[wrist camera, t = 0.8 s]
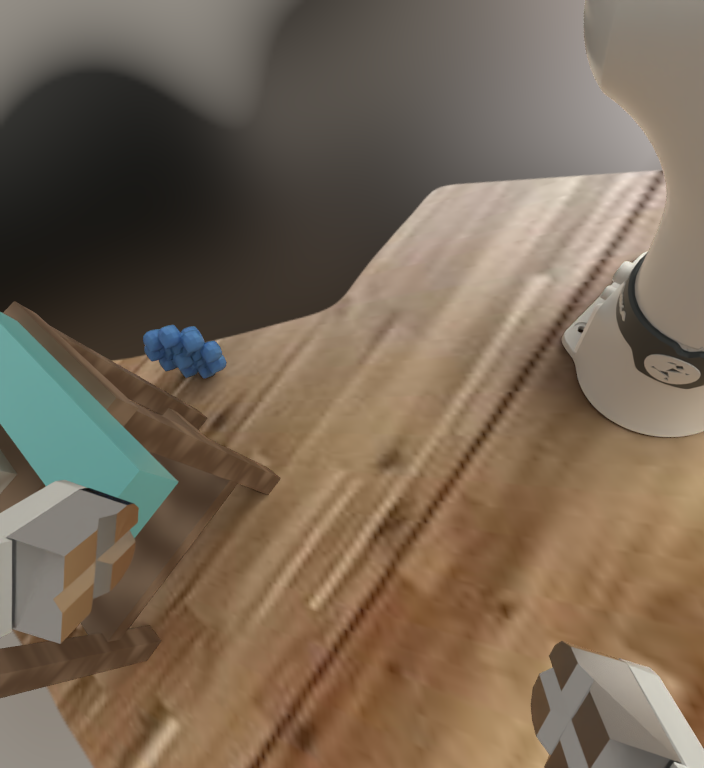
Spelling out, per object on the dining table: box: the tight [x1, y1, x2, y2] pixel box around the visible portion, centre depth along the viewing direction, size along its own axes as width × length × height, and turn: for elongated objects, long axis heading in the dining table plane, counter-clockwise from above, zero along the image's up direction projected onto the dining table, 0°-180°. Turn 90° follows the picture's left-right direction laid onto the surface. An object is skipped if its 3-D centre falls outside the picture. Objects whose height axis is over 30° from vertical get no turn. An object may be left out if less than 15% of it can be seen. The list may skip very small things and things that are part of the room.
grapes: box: [143, 325, 226, 379], centre depth 55 cm, size 12×7×12 cm, turn 82°
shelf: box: [0, 302, 280, 698], centre depth 38 cm, size 25×18×31 cm
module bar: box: [0, 312, 178, 538], centre depth 27 cm, size 4×24×3 cm, turn 53°
